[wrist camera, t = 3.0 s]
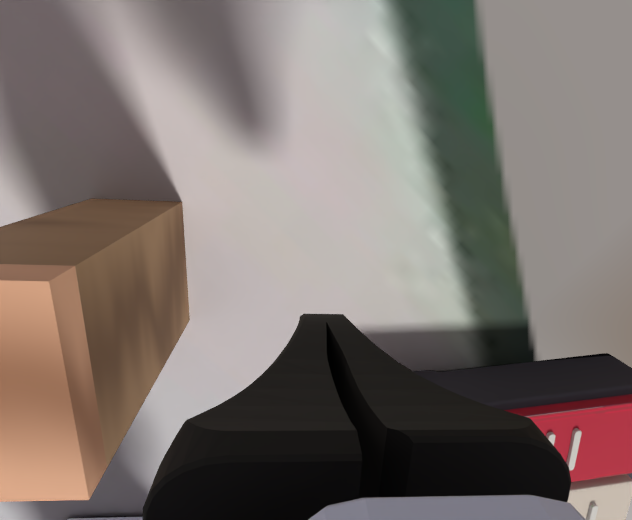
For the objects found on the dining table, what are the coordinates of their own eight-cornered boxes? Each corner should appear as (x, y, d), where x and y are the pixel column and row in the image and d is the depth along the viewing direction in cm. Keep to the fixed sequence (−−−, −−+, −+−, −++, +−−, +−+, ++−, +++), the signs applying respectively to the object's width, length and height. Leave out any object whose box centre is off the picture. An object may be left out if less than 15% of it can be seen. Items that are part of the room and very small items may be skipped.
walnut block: (189, 320, 19) (89, 499, 10) (107, 318, 19) (-79, 503, 9) (182, 201, 17) (49, 281, 8) (91, 198, 17) (-161, 277, 8)
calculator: (629, 552, 22) (373, 595, 20) (572, 486, 26) (356, 518, 24) (676, 391, 18) (372, 430, 17) (602, 345, 22) (353, 374, 21)
